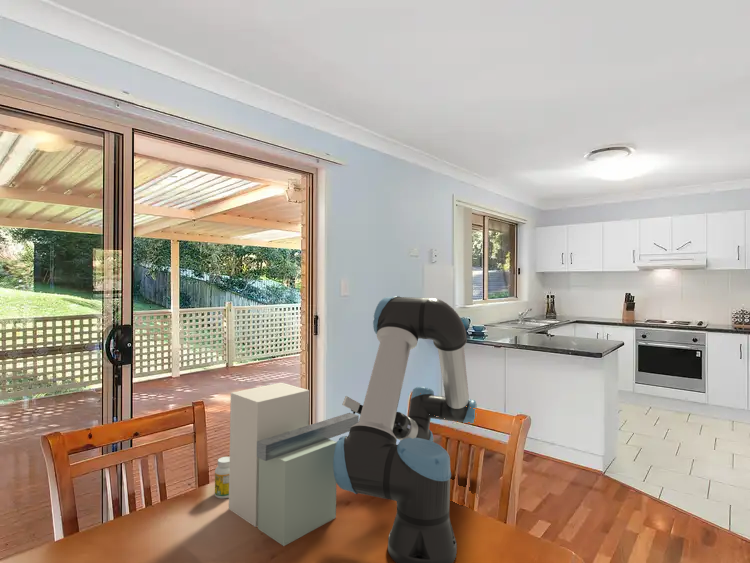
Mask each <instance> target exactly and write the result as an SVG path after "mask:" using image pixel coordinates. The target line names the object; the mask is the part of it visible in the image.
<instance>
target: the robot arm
mask: <svg viewBox="0 0 750 563" xmlns="http://www.w3.org/2000/svg"><path fill="white" fill-rule="evenodd" d="M373 314H374V315H373V321H372V326H373V331H374V333H375V334H376V338H377V340H378V342H379V345H378V349H377V353H376V357H375V360H374V364H373V366H372V371H371V375H370V379H369V381H368V385H367V390H366V393H365V396H364V400H363V403H362V404H361V403H360V402H359V401H357V400H354V399H353V398H352V397H349V396H347V395H345V396H344V400H343V402H342V406H344V407H346V408H348V409H349V410H350V411H351V412H352V414H355V415H356V414H357V415H359V421H358V423H356V424H355V425H353V426H351V428H350V431H349V432H348V434H347V435H342V436H340V437H339V439H338V440H337V441H336V442H337V443H336V446H335V451H334V458H333V471H334V477H335V480H336V486H338V487H339V488H340V490H341V489H342V490H345V491H347V492H350V493H353V494H354V495H357V494H361V495H366V496H371V497H376V498H380V499H386V500H390V501H395V502H396V514H395V516H394V521H393V523H392V524H393V525H392V528H391V530H390V532H389V533H388V539H387V551H388V555H389V556H390V558H391V559H392V560H393V561H394V562H395V563H454V562H455V561H456V559H455V558H457V555H456V554H457V551H458V550H457V549H458V547H457V546H458V544H457V539H456V537H455V532H454V529H453V525H452V523H451V518H450V500H451V499H450V498H451V495H450V494H451V492H450V491H451V478H452V472H451V458H450V455H449V452H448V451H447V450H446V449H445V448H443V446H441V444H439V443H436V442H434V434H433V432H432V430H430V425H431V419H433V420H441V421H442V420H443V421H448V422H454V423H461V422H463V423H462V424H465V423H466V424H474V423H475V422H474V419H475V410H476V409H473V408H477V409H478V406H477V401H476V400H474V399H471V398H470V395H469V386H468V377H467V366H466V356H465V345H466V344H467V342H468V341H467V340H468V339H467V330H466V327H465V324H464V322H463V320H462V318H461V317H460V315H459V314H458V312H457V311H456V310H455V309H454V308H453V306H450V305H449V304H448V303H447V302H445V301H443V300H441V299H439V298H435V297H410V296H409V297H408V296H404V297H403V296H400V295H395V296H386V297H383V298H382V299H381V300H380V301H379V302H378V304H377V306H376V308H375V310H374V313H373ZM419 339H422V340H432V342H433V345H434V347H435V348H436V349H437V351H438V353H437V354H438V358H439V359H438V360H439V366H440V372H441V380H442V387H443V392H444V396H443V395H435V392H434V391H435V390H433V389H431V388H429V387H426V386H416V387H414V388H413V389H412V393H411V397H410V400H409V407H408V413H407V414H408V415H406V414H404V413H402V412H400V411H398V407H399V402H400V399H401V394H402V388H403V384H404V379H405V376H406V372H407V371H406V369H407V366H408V361H409V357H410V354H411V353H410V352H411V350H413V349H415V348H416V347H417V345H418V341H419ZM420 393H421V394H420ZM466 406H467V407H466ZM470 407H471V408H470ZM429 414H430V415H429ZM434 415H435V416H434ZM436 416H439V417H436ZM444 418H445V419H444ZM453 420H454V421H453ZM457 421H458V422H457ZM468 422H470V423H468ZM398 440H399V442H398V444H397V441H398ZM454 560H455V561H454Z"/></svg>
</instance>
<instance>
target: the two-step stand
mask: <svg viewBox="0 0 750 563" xmlns="http://www.w3.org/2000/svg"><path fill="white" fill-rule="evenodd" d="M229 416H230V417H229V418H230V419H229V420H230V422H229V457H230V463H229V498H228V510H230V511H231V512H232V513H234V514H236V515H237V516H239V517H240V518H242V520H244V521H246V522H247V523H249V524H251V525H252V526H253V527H255V528H256V527H257V529H258V530H259V531H260V532H262V533H263V534H265V535H266V536H267V537H269V538H271V539H272V540H274V541H276V542H277V543H278V544H280V545H281V546H283V547H285V546H287V545H288V544H291V543H293V542H294V541H297V540H298V539H299V538H301V537H303V536H305V535H307V534H309V533H311V532H313V531H314V530H316V529H318V528H320V527H322V526H323V525H325V524H327V523H329V522H331V521H333V520H334V519H336V517H337V483H336V480H335V477H334V471H333V458H334V451H335V446H336V443H337V441H335V440H332V439H331V438H329V439H327V440H324V441H321V442H318V443H315V444H313V445H310V446H307V447H304V448H301V449H298V450H296V451H293V452H290V453H287V454H284V455H281V456H279V457H276V458H273V459H270V460H267V461H264V460H262V459H260V458H258V457H257V441H260V440H263V439H266V438H269V437H273V436H276V435H279V434H282V433H285V432H289V431H292V430H295V429H298V428H302V427H305V426H308V425H310V424H309V422H310V418H309V417H310V390H309V389H306V388H303V387H300V386H295V385H292V384H288V383H285V382H277V383H271V384H268V385H263V386H258V387H252V388H247V389H243V390H238V391H233V392H230V414H229Z"/></svg>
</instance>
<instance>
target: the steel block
mask: <svg viewBox="0 0 750 563" xmlns="http://www.w3.org/2000/svg"><path fill="white" fill-rule="evenodd" d="M359 419H360V414H356V413H355V414H353V412H352V413H351V412H347V413H344V414H341V415H337V416H334V417H331V418H328V419H327V418H326V419H324V420H321V421H319V422H318V421H317V422H315V423H312V424H309V425H308V426H305V427H302V428H298V429H295V430H292V431H289V432H285V433H282V434H279V435H276V436H273V437H269V438H266V439H263V440H260V441H257V457H258V458H260V459H262V460H264V461H267V460H270V459H273V458H276V457H279V456H281V455H284V454H287V453H290V452H293V451H296V450H298V449H301V448H304V447H307V446H310V445H313V444H315V443H318V442H321V441H324V440H327V439H331V438H335V437H337V436H341V435H343V434H346V433H349V432H350V428H351V426H353V425H355V424H356V423H358V422H359Z"/></svg>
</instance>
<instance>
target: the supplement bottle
mask: <svg viewBox="0 0 750 563" xmlns="http://www.w3.org/2000/svg"><path fill="white" fill-rule="evenodd" d="M229 463H230V456H222V457H219V458H217V466H216V468H215V469H214V496H215V497H216V498H218V499H222V500H223V499H229Z"/></svg>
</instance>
